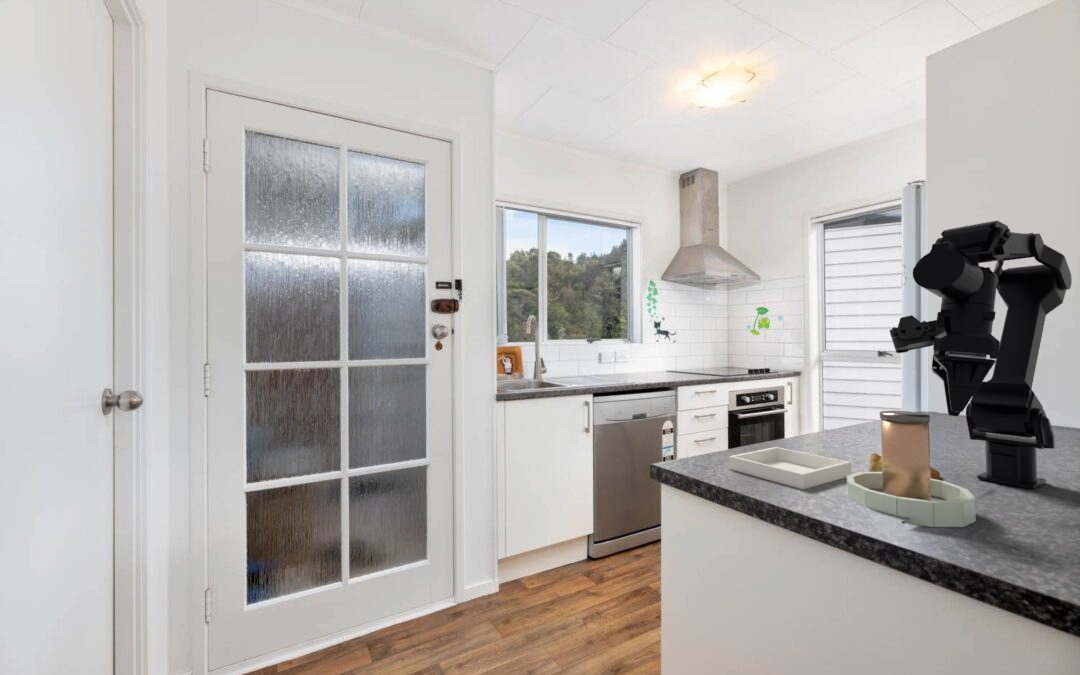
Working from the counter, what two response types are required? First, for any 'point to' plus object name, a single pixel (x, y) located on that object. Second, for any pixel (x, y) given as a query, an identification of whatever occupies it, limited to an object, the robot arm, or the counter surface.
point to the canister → (906, 454)
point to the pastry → (877, 466)
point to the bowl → (915, 502)
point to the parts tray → (790, 467)
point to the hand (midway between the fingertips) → (954, 413)
